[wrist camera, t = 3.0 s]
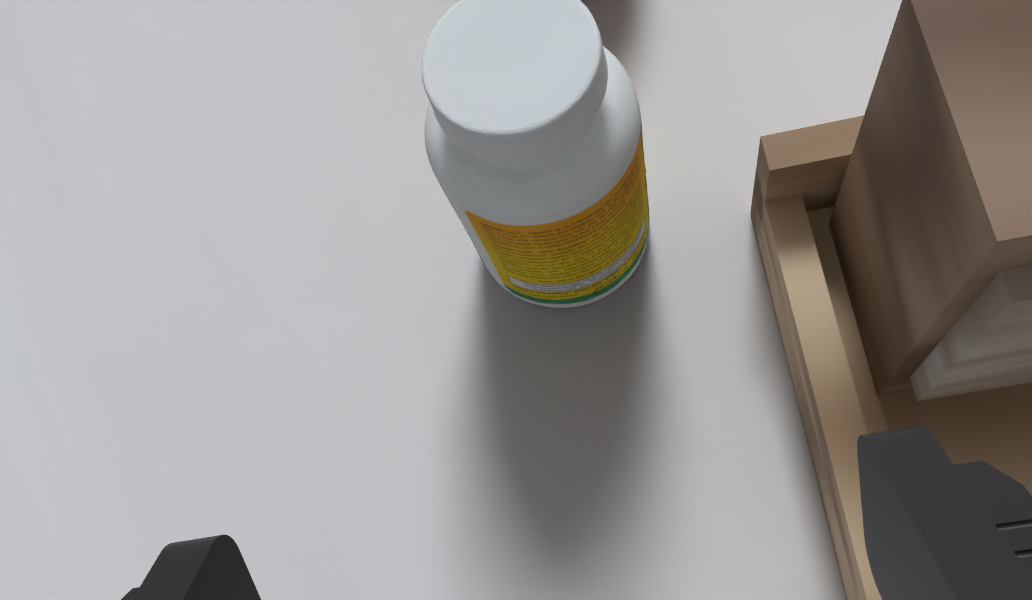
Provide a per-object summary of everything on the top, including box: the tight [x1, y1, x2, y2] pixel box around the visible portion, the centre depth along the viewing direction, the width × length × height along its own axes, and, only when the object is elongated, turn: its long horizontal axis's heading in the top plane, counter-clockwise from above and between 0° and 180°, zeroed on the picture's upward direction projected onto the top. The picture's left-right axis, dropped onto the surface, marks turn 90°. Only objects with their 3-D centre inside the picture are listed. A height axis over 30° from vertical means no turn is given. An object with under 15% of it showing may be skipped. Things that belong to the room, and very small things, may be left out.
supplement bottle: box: [422, 0, 649, 308], centre depth 24 cm, size 5×5×10 cm
